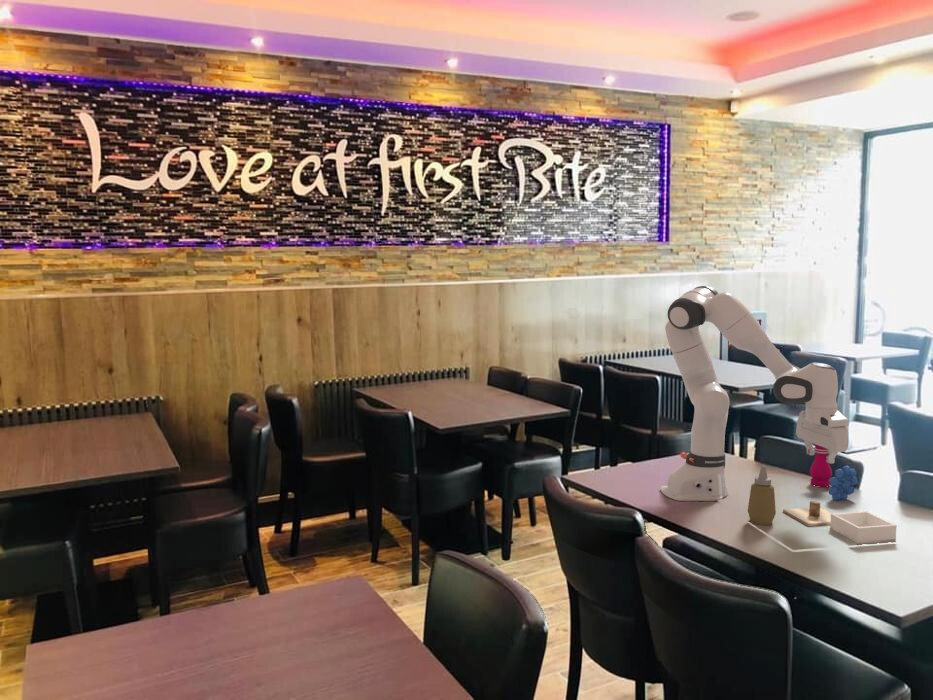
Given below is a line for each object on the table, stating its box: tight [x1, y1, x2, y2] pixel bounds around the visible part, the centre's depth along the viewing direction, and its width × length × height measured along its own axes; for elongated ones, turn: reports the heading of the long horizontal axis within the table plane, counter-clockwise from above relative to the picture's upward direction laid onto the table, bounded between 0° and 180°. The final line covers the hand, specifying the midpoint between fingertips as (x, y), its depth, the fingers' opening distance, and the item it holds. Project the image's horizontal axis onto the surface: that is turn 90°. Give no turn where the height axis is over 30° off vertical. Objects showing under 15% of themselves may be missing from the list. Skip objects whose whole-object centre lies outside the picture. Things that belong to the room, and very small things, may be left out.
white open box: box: [829, 510, 897, 546], centre depth 212 cm, size 12×12×5 cm
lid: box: [782, 500, 834, 527], centre depth 226 cm, size 13×13×5 cm
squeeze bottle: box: [747, 465, 777, 526], centre depth 222 cm, size 8×8×18 cm
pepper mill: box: [809, 443, 833, 488], centre depth 259 cm, size 7×7×20 cm
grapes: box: [827, 465, 859, 501], centre depth 243 cm, size 12×7×12 cm, turn 110°
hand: (820, 458), depth 226 cm, fingers open, 8 cm apart
